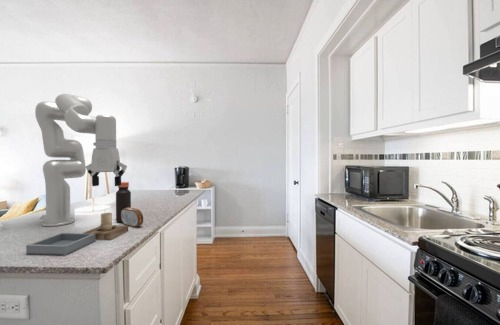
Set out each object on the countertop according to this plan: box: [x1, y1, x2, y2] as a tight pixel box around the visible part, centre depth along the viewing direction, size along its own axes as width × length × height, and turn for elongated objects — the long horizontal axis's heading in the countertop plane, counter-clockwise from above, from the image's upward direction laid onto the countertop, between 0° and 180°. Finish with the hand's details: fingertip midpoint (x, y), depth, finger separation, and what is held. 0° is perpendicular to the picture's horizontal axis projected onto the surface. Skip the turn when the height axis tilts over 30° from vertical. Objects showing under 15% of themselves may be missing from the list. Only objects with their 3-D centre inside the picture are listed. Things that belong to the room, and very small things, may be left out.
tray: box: [25, 232, 97, 256], centre depth 88 cm, size 14×14×3 cm
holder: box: [83, 224, 129, 241], centre depth 103 cm, size 12×12×2 cm
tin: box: [121, 207, 144, 228], centre depth 117 cm, size 15×3×8 cm, turn 58°
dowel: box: [100, 212, 113, 231], centre depth 102 cm, size 4×4×9 cm
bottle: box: [115, 181, 132, 224], centre depth 125 cm, size 7×7×20 cm
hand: (106, 185), depth 102 cm, fingers open, 9 cm apart
